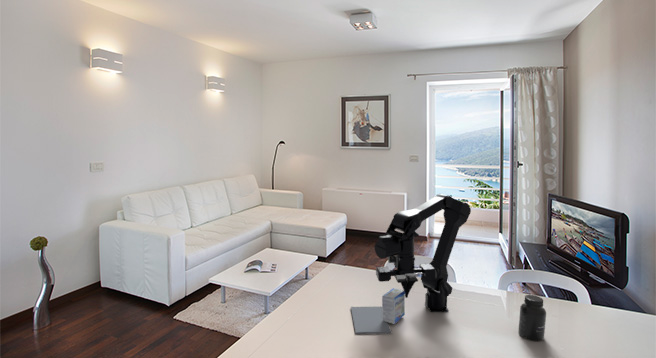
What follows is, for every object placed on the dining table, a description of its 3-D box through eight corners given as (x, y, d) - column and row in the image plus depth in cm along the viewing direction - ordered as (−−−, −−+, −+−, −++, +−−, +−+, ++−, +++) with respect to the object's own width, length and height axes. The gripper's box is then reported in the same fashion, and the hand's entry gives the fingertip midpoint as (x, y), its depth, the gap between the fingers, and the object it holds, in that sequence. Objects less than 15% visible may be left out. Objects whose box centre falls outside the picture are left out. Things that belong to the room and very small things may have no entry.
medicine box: (394, 324, 110) (394, 298, 109) (381, 320, 112) (381, 295, 112) (404, 315, 116) (405, 290, 115) (392, 311, 119) (392, 287, 118)
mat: (381, 308, 122) (381, 306, 122) (391, 333, 106) (391, 331, 106) (350, 308, 122) (350, 306, 122) (355, 334, 106) (355, 332, 106)
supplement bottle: (544, 344, 101) (547, 305, 99) (517, 337, 104) (520, 299, 103) (544, 333, 106) (547, 296, 105) (518, 327, 110) (521, 291, 109)
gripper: (425, 242, 120) (426, 284, 122) (372, 245, 120) (374, 288, 122) (436, 253, 109) (437, 299, 111) (378, 256, 109) (379, 303, 111)
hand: (406, 297), depth 114 cm, fingers closed
